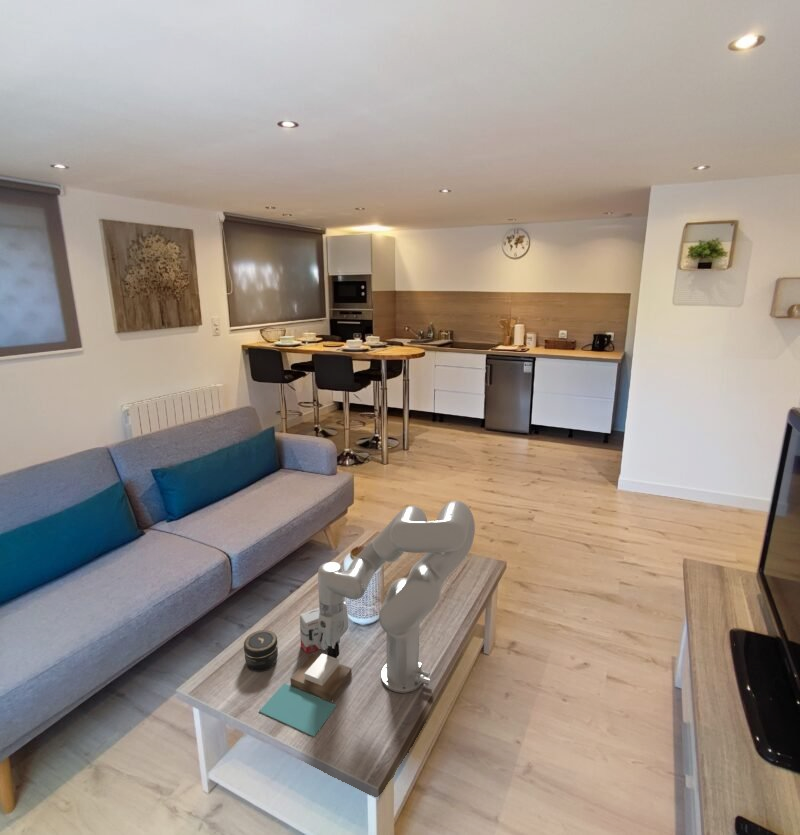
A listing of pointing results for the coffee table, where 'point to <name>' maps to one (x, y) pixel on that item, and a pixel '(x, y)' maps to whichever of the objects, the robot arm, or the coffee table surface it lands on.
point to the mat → (298, 709)
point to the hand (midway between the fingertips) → (333, 655)
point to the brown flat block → (330, 685)
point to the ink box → (309, 631)
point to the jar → (261, 650)
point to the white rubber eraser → (321, 669)
